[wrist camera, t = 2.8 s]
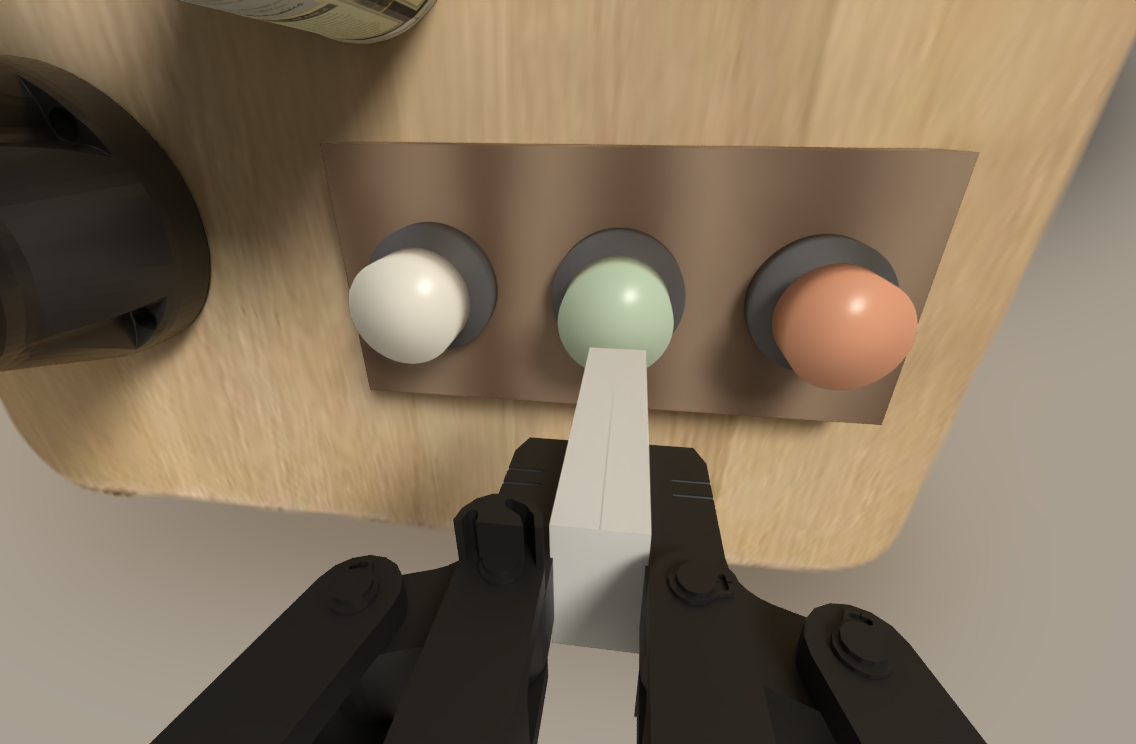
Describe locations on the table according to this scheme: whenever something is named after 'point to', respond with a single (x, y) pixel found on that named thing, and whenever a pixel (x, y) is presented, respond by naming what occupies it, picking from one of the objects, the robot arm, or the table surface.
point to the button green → (616, 309)
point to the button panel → (644, 254)
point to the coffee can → (332, 16)
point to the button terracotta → (843, 326)
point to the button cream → (409, 305)
